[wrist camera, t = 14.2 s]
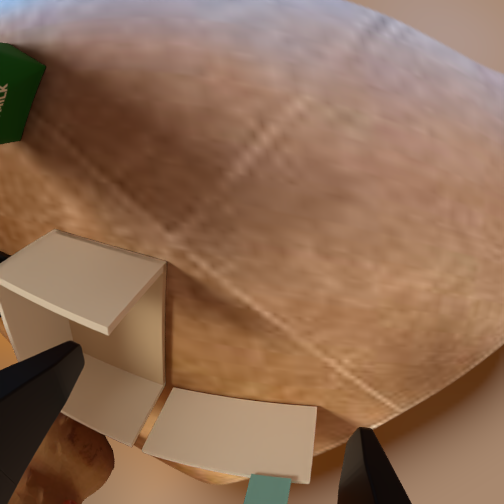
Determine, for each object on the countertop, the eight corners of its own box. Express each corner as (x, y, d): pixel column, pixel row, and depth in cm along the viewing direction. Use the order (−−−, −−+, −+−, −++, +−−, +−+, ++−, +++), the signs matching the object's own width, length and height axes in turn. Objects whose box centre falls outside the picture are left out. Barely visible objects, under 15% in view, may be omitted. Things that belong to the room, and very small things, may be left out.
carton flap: (172, 384, 28) (126, 475, 19) (317, 404, 26) (305, 513, 16) (174, 392, 29) (130, 481, 19) (316, 412, 26) (303, 518, 17)
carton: (74, 347, 30) (33, 395, 23) (54, 228, 24) (-12, 271, 17) (165, 384, 29) (132, 447, 22) (166, 261, 23) (107, 327, 16)
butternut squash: (134, 456, 40) (72, 578, 17) (65, 423, 41) (-2, 527, 19) (117, 408, 34) (26, 565, 11) (39, 370, 35) (-55, 492, 13)
